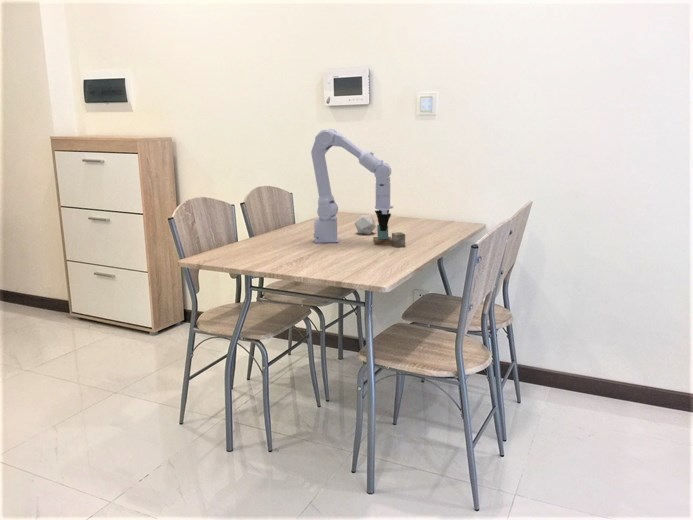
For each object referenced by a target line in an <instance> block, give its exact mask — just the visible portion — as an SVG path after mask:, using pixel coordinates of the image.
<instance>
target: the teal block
mask: <svg viewBox="0 0 693 520" xmlns="http://www.w3.org/2000/svg"><path fill="white" fill-rule="evenodd" d="M388 225H389V224H388ZM388 225H387V230H386V231H381V230H380V225H379V224H376V230H377V233H376V234H377V237H378V239H388V237H389V226H388Z"/></svg>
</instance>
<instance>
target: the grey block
mask: <svg viewBox="0 0 693 520" xmlns="http://www.w3.org/2000/svg"><path fill="white" fill-rule="evenodd" d="M391 238H392V245H391V246H392V247H393V248H405V247H406V233H404V232H402V231H399V232H391Z"/></svg>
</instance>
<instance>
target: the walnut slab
mask: <svg viewBox="0 0 693 520" xmlns="http://www.w3.org/2000/svg"><path fill="white" fill-rule="evenodd" d="M372 241H373V245H374V246H392V236H388V239H378V236H373V237H372Z"/></svg>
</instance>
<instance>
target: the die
mask: <svg viewBox="0 0 693 520" xmlns="http://www.w3.org/2000/svg"><path fill="white" fill-rule="evenodd" d="M354 226H355V228H356V230H357V233H358V234H359V235H369V236H370V235H371V234H372V232H373V231H374V230H375V229H377V224H376V222H375V219H374V217H373V215H367V214H365V215H364V214H361V215H360V216H359V217H358V218H357V219H356V220H355V222H354Z"/></svg>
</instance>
